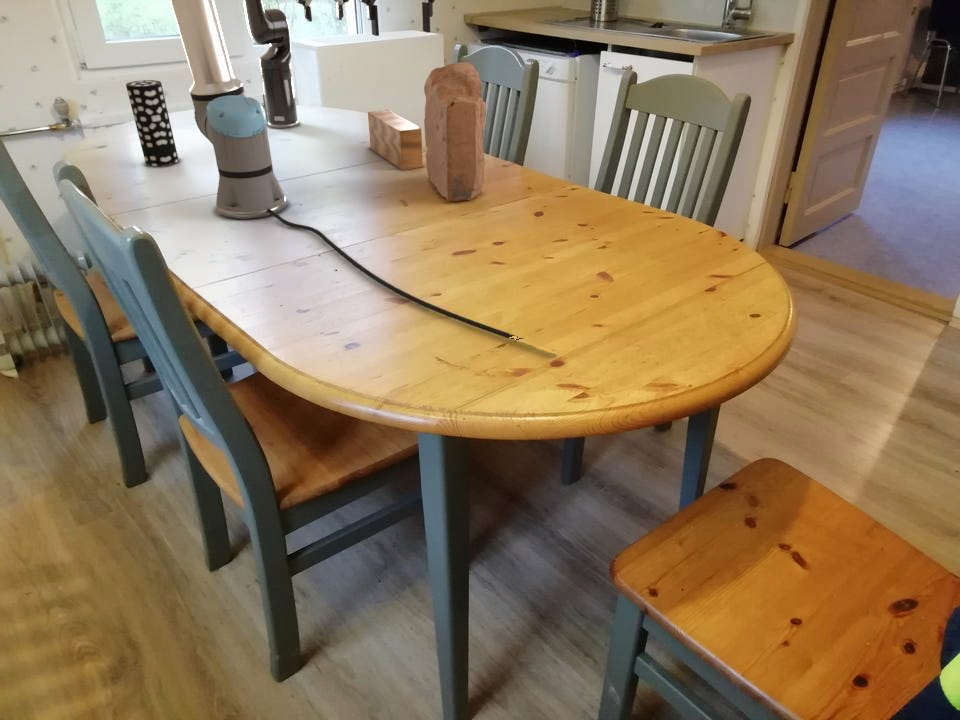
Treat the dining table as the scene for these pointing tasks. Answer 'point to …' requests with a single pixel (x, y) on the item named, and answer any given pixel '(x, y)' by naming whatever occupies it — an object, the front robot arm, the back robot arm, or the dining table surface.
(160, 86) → the black white spotted cylinder
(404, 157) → the box
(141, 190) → the dining table surface
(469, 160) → the stone
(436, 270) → the dining table surface
